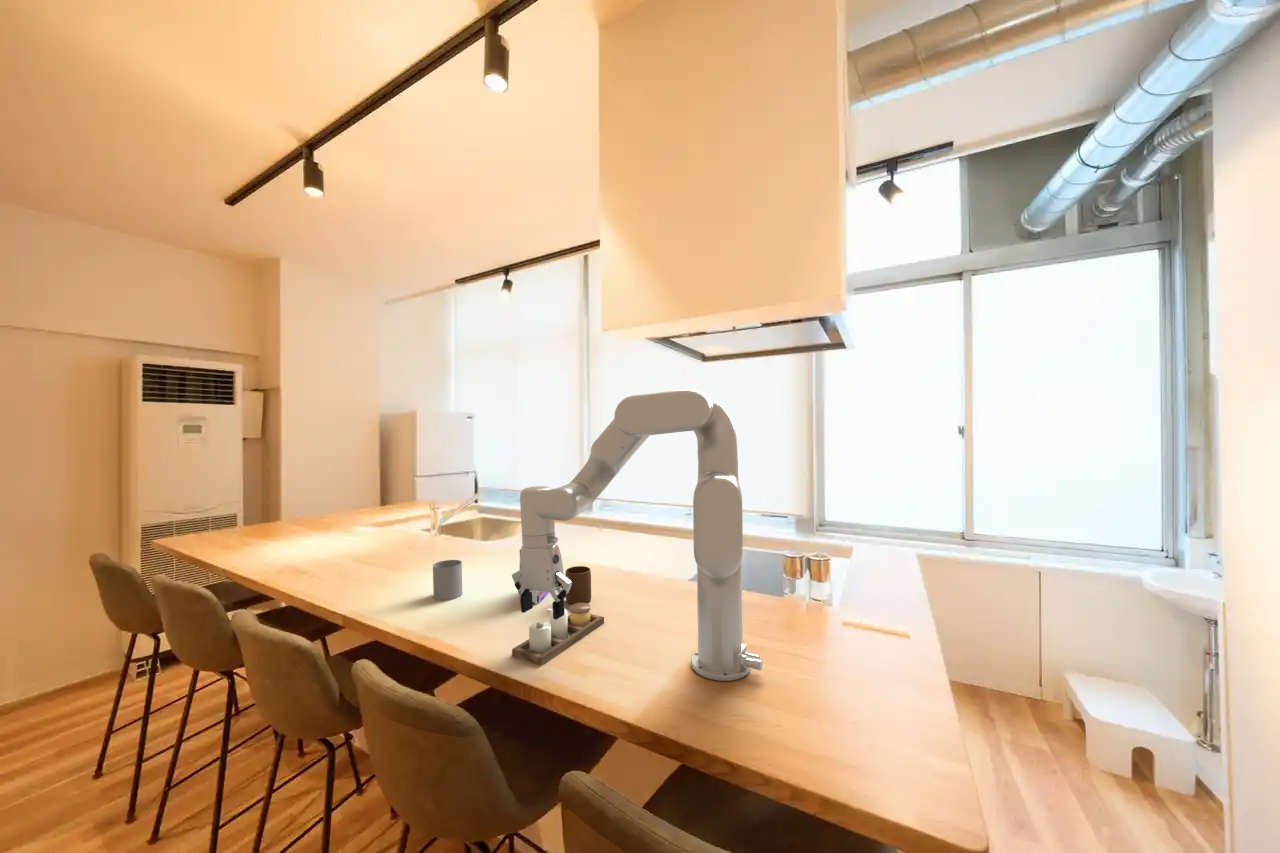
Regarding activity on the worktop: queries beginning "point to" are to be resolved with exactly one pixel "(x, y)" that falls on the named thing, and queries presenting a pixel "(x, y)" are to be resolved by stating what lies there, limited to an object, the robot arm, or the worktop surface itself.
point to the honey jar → (580, 614)
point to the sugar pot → (540, 637)
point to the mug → (579, 585)
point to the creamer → (559, 625)
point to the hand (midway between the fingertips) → (542, 613)
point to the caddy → (557, 642)
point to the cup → (447, 580)
